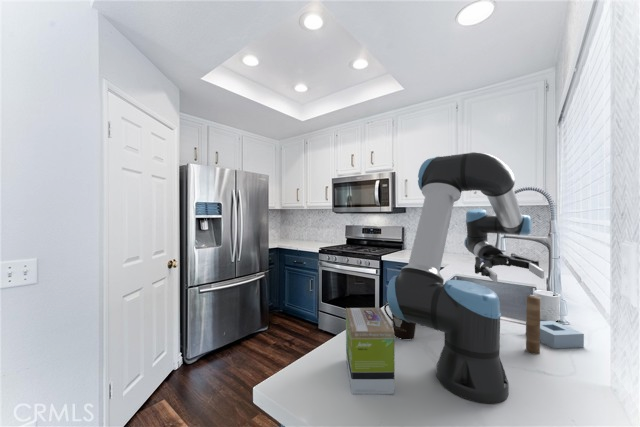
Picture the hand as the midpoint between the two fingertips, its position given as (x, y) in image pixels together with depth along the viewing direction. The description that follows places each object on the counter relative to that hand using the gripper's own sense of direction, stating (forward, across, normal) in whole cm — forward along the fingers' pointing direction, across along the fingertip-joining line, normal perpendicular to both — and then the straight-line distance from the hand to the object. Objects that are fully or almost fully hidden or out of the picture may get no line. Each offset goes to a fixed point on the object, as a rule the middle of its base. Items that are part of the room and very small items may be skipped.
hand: (519, 276), depth 87 cm
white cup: (-17, -18, -27) cm, 37 cm away
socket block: (+1, -9, -22) cm, 24 cm away
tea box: (+29, +50, -9) cm, 58 cm away
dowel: (+10, +2, -19) cm, 21 cm away
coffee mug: (+4, +39, -15) cm, 42 cm away
